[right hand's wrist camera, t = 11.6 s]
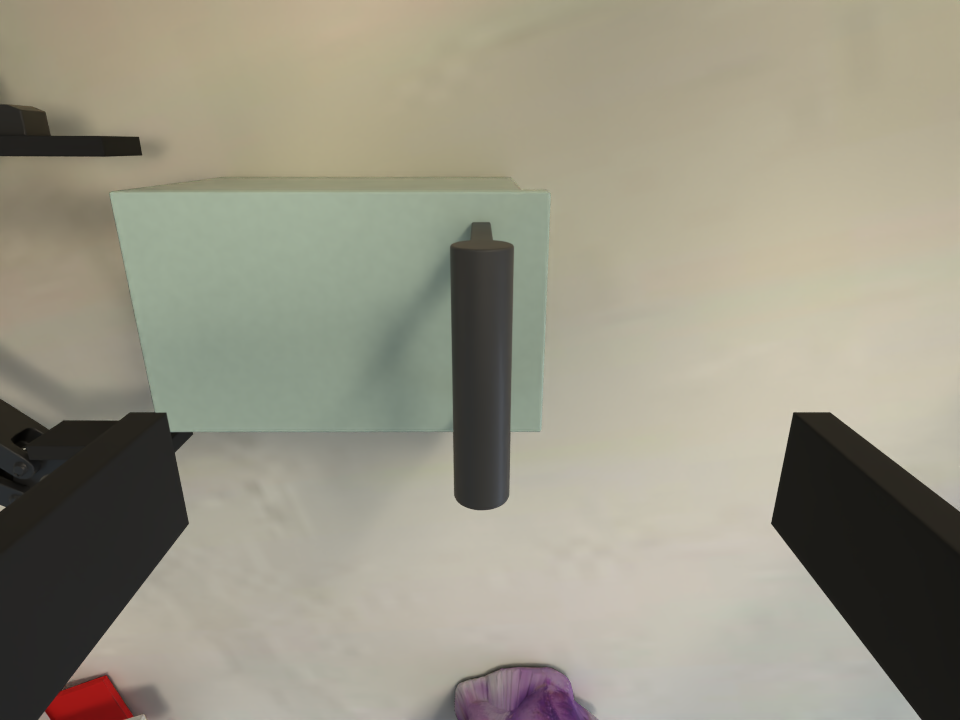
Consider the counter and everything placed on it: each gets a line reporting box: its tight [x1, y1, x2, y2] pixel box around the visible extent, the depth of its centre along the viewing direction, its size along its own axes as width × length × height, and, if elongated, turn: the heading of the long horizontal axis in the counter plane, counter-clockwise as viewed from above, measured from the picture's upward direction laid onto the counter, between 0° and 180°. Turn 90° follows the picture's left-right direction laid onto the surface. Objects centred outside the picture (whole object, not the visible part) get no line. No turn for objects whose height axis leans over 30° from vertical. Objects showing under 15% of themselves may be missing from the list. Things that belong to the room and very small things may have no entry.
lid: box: [109, 190, 551, 510], centre depth 20 cm, size 16×10×8 cm, turn 90°
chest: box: [128, 177, 522, 190], centre depth 28 cm, size 15×10×9 cm, turn 90°
